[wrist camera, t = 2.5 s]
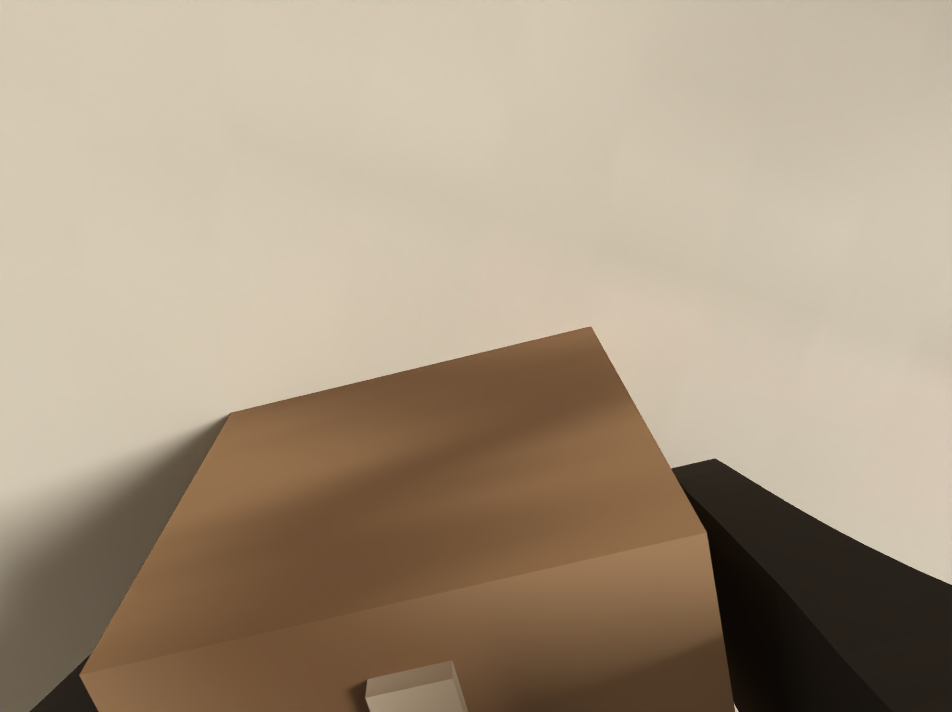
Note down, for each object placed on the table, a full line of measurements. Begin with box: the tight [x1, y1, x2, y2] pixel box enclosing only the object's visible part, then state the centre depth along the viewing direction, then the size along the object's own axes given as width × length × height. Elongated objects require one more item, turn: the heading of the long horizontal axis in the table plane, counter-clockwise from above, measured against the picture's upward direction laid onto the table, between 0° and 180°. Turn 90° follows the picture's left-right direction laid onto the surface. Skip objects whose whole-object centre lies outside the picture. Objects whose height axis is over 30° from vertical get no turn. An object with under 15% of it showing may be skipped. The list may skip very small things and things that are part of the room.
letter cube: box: [79, 327, 735, 712], centre depth 9 cm, size 5×5×5 cm
